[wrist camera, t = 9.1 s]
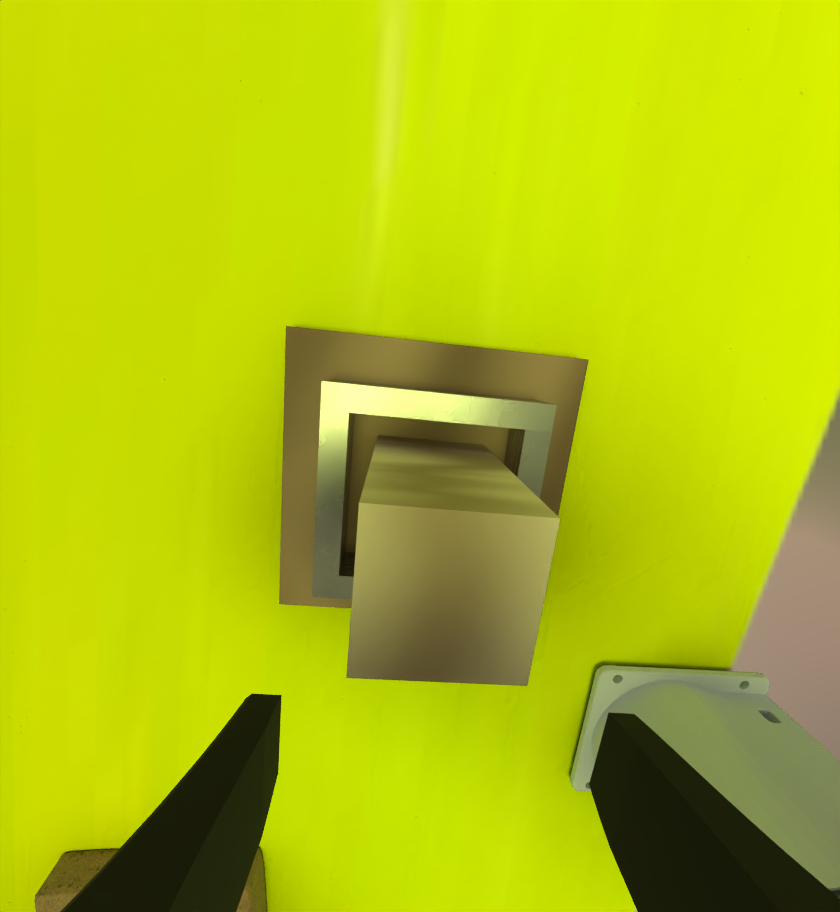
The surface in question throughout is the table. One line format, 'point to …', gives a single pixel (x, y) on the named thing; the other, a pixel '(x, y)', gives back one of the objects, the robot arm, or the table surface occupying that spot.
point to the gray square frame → (346, 398)
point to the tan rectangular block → (447, 566)
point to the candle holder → (86, 864)
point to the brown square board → (401, 422)
